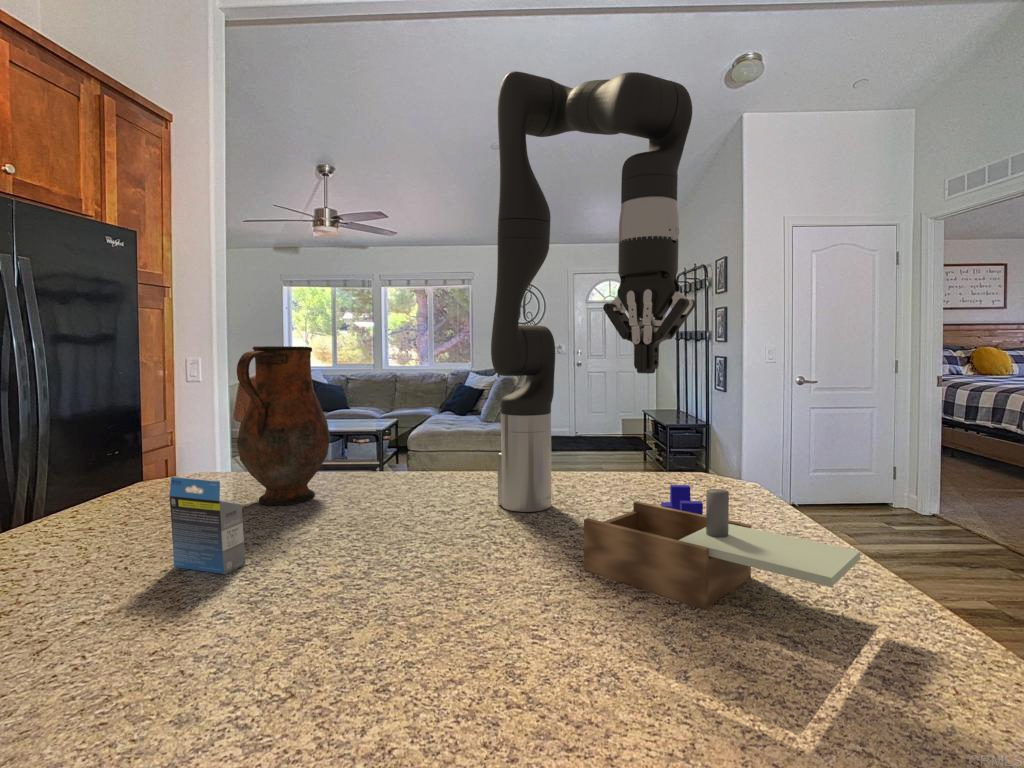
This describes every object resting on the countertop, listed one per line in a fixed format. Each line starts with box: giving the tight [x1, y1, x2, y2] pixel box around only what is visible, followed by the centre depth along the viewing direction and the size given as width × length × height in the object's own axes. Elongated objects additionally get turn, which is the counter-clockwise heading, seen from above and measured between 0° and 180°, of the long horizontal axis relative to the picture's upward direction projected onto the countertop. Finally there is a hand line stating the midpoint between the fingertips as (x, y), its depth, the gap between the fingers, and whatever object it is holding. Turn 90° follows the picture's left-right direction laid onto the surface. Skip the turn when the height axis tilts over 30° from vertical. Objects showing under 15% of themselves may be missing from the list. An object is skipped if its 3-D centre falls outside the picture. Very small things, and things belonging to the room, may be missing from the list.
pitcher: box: [236, 345, 331, 506], centre depth 108 cm, size 17×21×30 cm
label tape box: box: [169, 475, 246, 575], centre depth 75 cm, size 9×4×12 cm, turn 71°
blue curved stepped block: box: [660, 484, 704, 515], centre depth 89 cm, size 12×4×6 cm, turn 172°
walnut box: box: [583, 501, 752, 611], centre depth 70 cm, size 16×12×7 cm
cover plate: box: [679, 488, 861, 588], centre depth 61 cm, size 15×10×6 cm, turn 45°
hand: (646, 373), depth 74 cm, fingers closed
